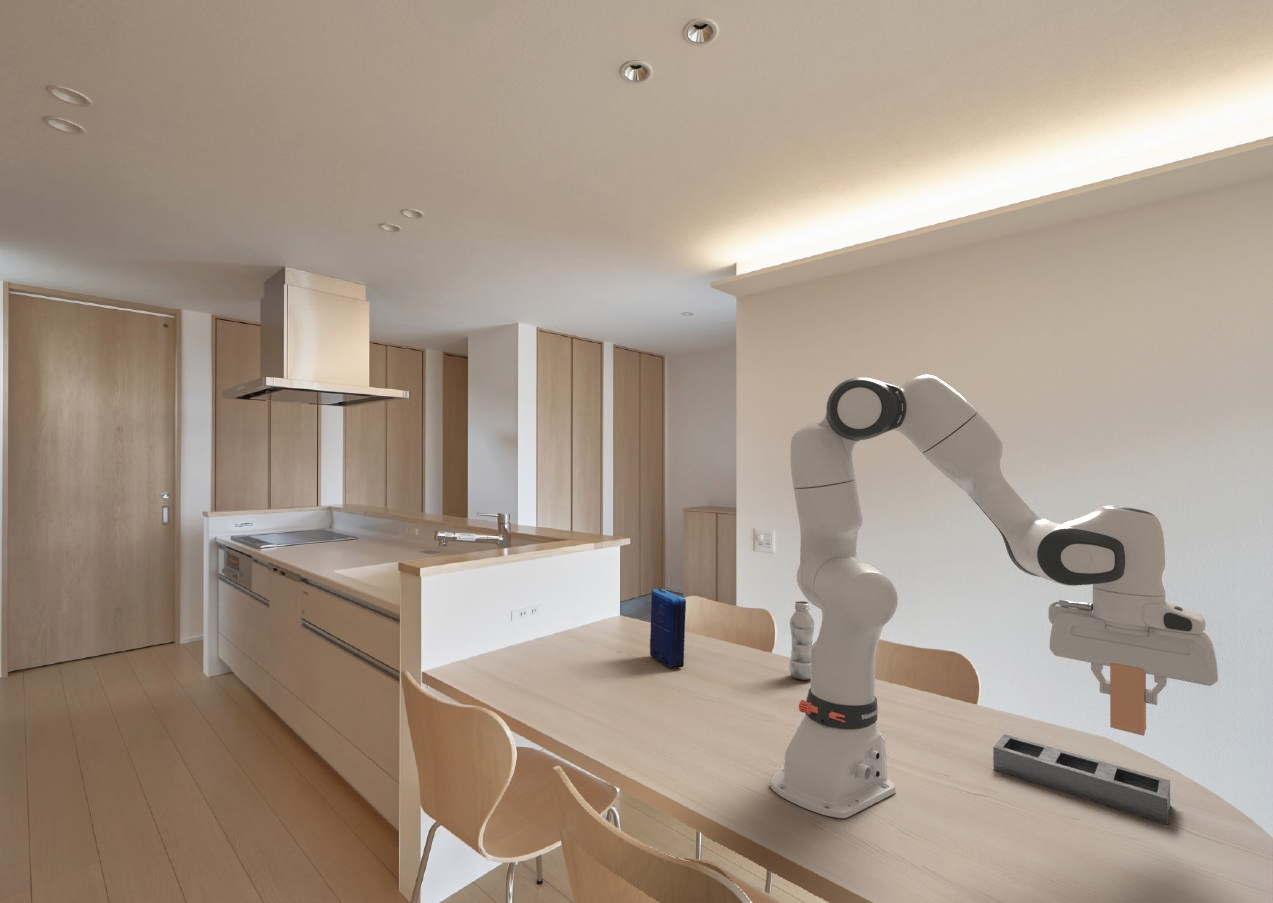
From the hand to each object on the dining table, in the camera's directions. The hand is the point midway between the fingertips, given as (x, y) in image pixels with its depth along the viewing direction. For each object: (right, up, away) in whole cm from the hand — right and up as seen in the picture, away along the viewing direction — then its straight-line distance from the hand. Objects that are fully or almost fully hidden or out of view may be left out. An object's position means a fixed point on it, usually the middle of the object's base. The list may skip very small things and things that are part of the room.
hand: (1128, 697), depth 92 cm
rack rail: (0, -20, +11) cm, 23 cm away
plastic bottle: (-33, -22, +64) cm, 75 cm away
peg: (0, -5, 0) cm, 5 cm away
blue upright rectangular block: (-69, -22, +75) cm, 104 cm away
